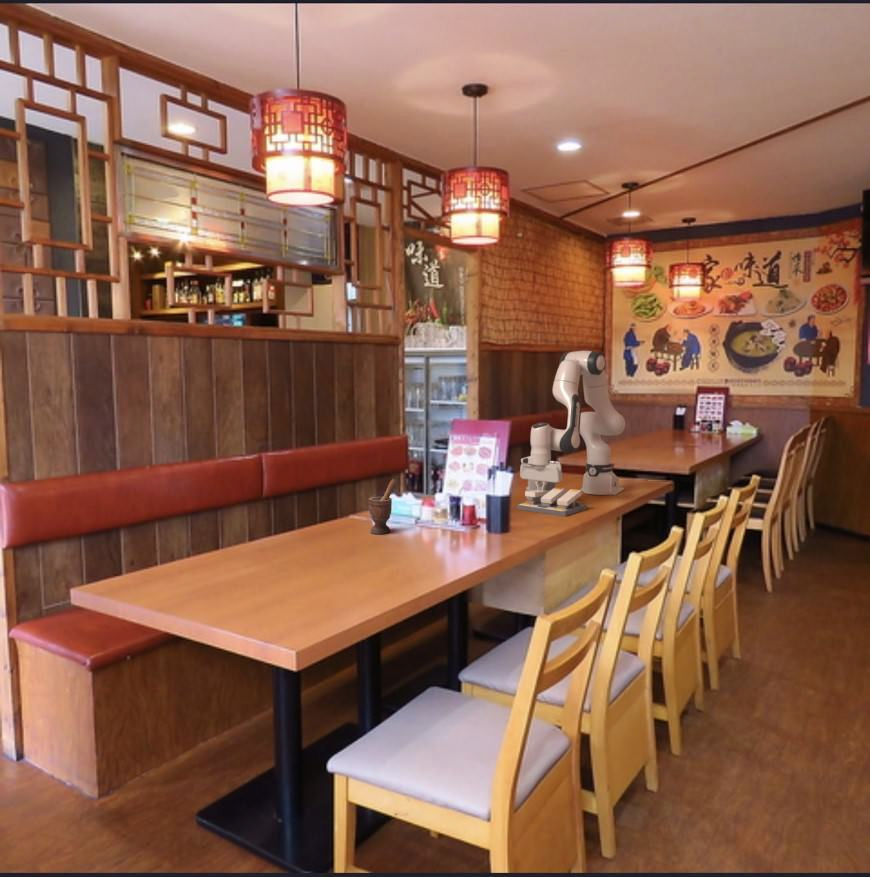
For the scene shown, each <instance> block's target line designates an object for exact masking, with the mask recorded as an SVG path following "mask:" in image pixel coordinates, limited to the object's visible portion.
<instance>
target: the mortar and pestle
mask: <svg viewBox="0 0 870 877" xmlns="http://www.w3.org/2000/svg"><path fill="white" fill-rule="evenodd" d="M398 483H399V481H398V480H396V478H395V479H394V478H392V479H391V480H390V481H389V484H388V485H387V488H386V491H385V492H384V495H383V496H372V497H369V498H368V505H369V506H368V510H369V513H370V519H371V520H372V521H373V523H374V525H373V526H371V528H370V534H375V535H385V534H389V533H390V532H391V528H390V527H389V526H388V524H387V522H388V521H389V519H390V518H391V514H392V506H393V505H392V500H393V499H392V498H391V495H392V494H393V491H394V490H395V489H396V488H397V486H398Z"/></svg>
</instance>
